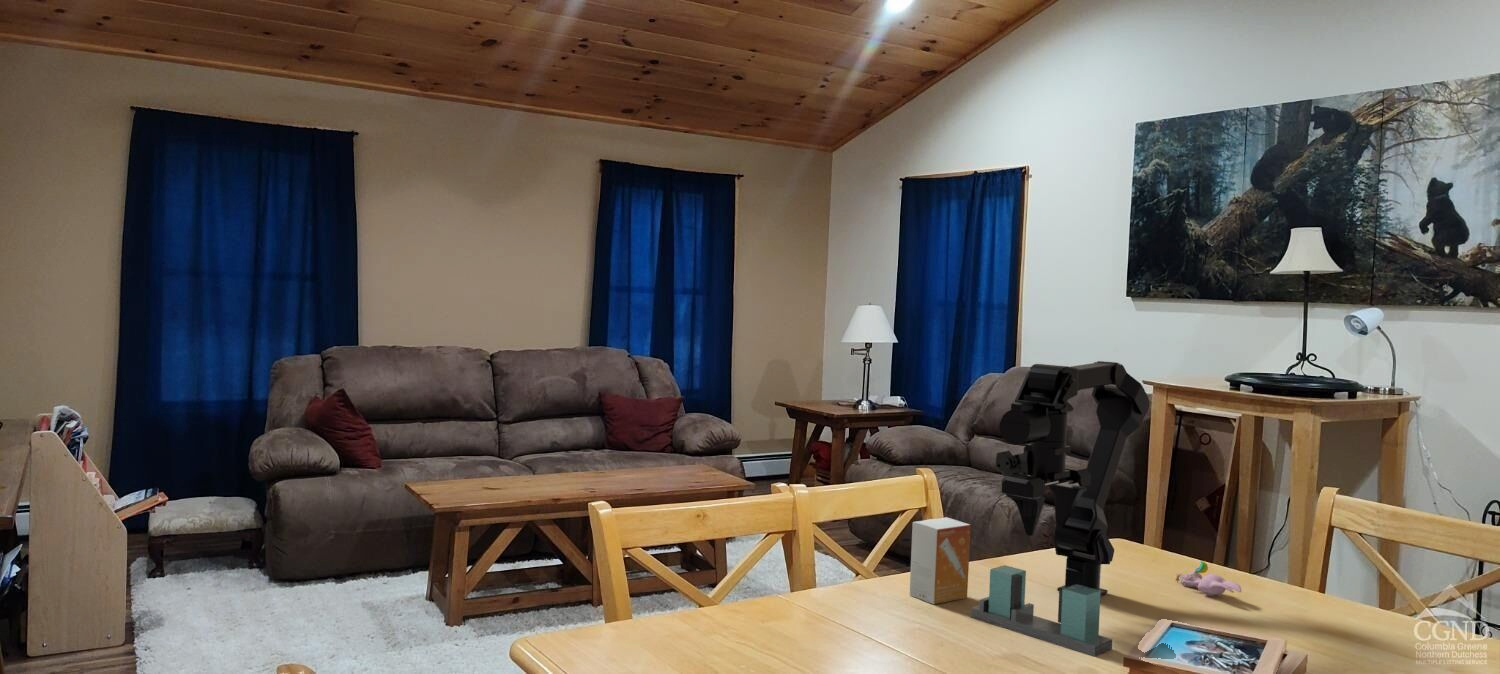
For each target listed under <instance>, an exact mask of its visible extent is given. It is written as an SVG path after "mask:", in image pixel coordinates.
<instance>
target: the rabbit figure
mask: <svg viewBox="0 0 1500 674" xmlns="http://www.w3.org/2000/svg"><path fill="white" fill-rule="evenodd" d="M1199 562H1200V566H1197V568H1196V569H1195V570H1194V571H1193V572H1187V573H1186V574H1185V575H1184V574H1182V573H1179V574H1178V573H1176V578H1175V581H1176V583H1177V584H1178V583H1179V582H1180V583H1181V585H1182V586H1184V588H1192V589H1193V588H1197V589H1198V590H1199V591H1200V592H1201V593H1203V594H1206V596H1211V597H1214V596H1215V595H1217V596H1218V595H1222V594H1224V593H1225V591H1229V593H1230V592H1231V593H1235V591H1236V592H1238V593H1242V587H1241V585H1240V584H1239V583H1237V582H1235V581H1228V580H1226V579H1225V578H1223V577H1222V576H1220V575H1218V574H1215V573H1210V574H1206V575H1205V576H1202V575H1201V574H1204V573H1207V572H1208V569H1209V567H1208V564H1207V563H1206V561H1203V560H1200V561H1199Z"/></svg>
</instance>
